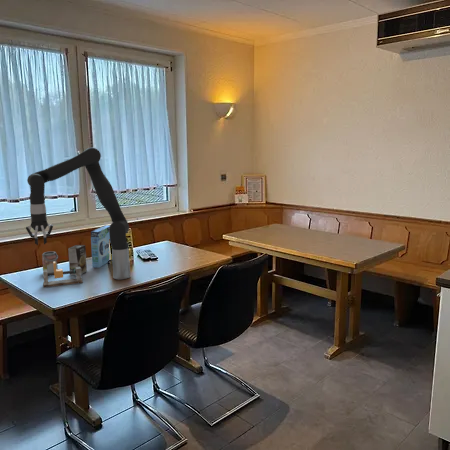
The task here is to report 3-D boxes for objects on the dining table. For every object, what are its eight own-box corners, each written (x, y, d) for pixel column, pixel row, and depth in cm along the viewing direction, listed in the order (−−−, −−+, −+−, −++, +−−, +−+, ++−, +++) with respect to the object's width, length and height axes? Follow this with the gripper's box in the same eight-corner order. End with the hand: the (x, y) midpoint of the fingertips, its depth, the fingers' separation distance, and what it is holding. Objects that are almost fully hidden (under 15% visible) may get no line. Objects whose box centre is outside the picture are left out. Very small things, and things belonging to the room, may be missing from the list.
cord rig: (81, 279, 246) (80, 265, 244) (82, 282, 241) (81, 268, 239) (43, 284, 238) (42, 269, 237) (43, 287, 233) (42, 272, 231)
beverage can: (61, 272, 259) (60, 253, 257) (47, 275, 253) (46, 255, 251) (54, 269, 265) (52, 250, 263) (40, 272, 259) (38, 252, 257)
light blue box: (106, 259, 288) (104, 225, 283) (113, 259, 287) (111, 225, 283) (92, 267, 269) (89, 231, 265) (99, 268, 268) (97, 231, 264)
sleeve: (62, 275, 240) (61, 260, 239) (63, 277, 237) (62, 262, 235) (54, 276, 239) (53, 261, 237) (54, 278, 235) (53, 263, 234)
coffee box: (79, 275, 253) (77, 248, 250) (69, 274, 255) (67, 248, 252) (87, 271, 262) (85, 245, 259) (77, 270, 263) (75, 244, 260)
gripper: (52, 210, 234) (54, 241, 237) (23, 212, 229) (26, 244, 232) (53, 212, 227) (55, 244, 231) (23, 214, 222) (26, 247, 225)
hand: (40, 244), depth 231 cm, fingers open, 3 cm apart
